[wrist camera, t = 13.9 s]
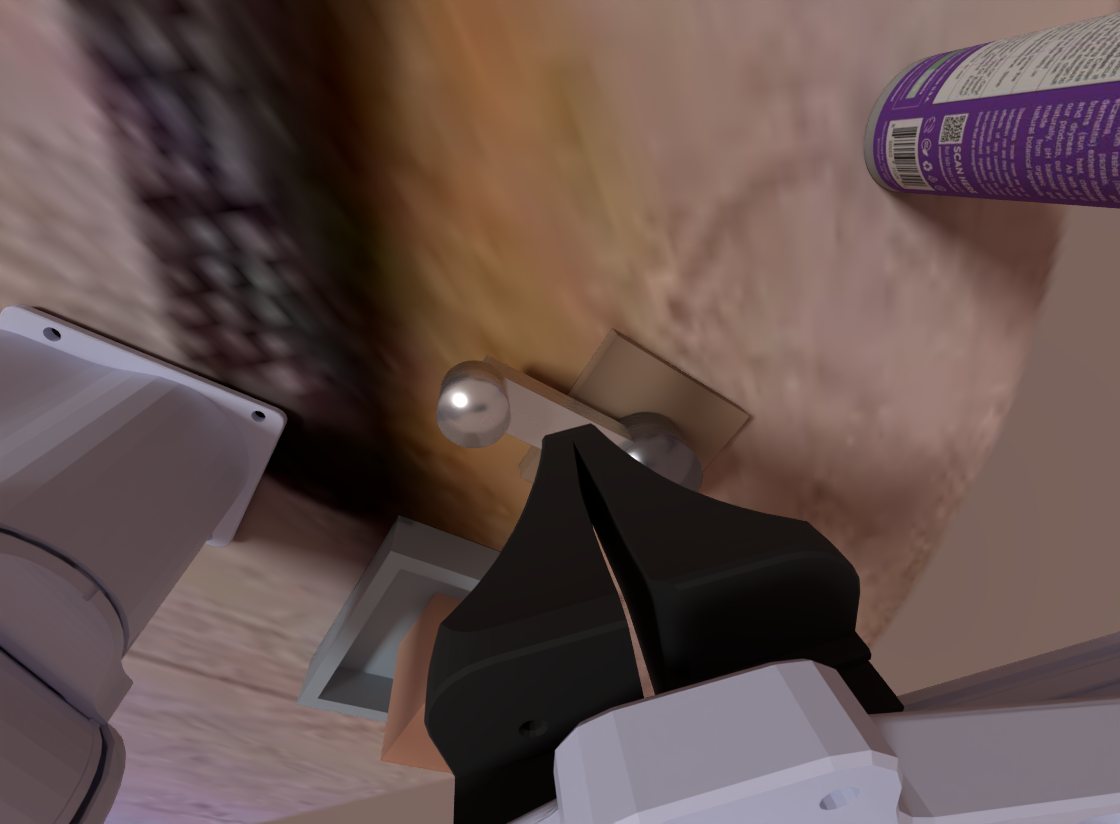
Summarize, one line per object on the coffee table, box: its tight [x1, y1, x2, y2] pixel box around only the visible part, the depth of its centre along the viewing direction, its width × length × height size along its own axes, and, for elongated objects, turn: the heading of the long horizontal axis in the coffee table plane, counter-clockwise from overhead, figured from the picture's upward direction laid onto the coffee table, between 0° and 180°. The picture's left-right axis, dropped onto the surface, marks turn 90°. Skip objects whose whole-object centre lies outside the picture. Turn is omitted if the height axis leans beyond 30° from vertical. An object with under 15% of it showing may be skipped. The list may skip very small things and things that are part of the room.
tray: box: [297, 515, 501, 722], centre depth 27 cm, size 12×12×2 cm
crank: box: [437, 355, 703, 492], centre depth 19 cm, size 12×4×4 cm, turn 58°
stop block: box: [380, 592, 462, 773], centre depth 25 cm, size 4×4×6 cm
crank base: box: [519, 328, 750, 483], centre depth 23 cm, size 8×8×1 cm
